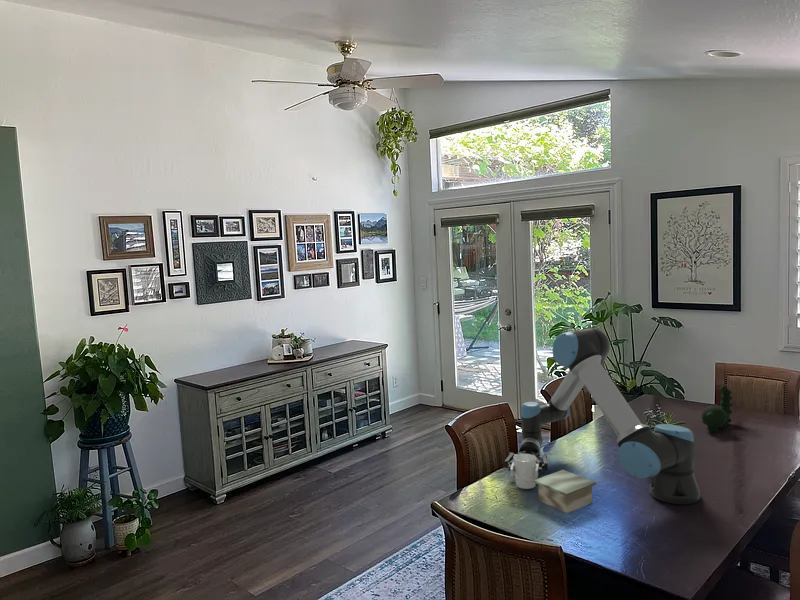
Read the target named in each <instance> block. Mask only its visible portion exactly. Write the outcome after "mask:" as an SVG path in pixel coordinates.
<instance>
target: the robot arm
mask: <svg viewBox="0 0 800 600" xmlns="http://www.w3.org/2000/svg"><path fill="white" fill-rule="evenodd" d="M610 349H611V344H610V340H609V337H608V336H607V334H606V333H605V332H604V331H602V330H600V329H597V328H596V327H595V328H594V327H587V328H584V329H578V330H571V331H570V330H569V331H566V332H563V333H560V334H558V335H557V336H555V339H554V340H553V343H552V356H553V358H554V361H555V362H556V363H557V364H558V365H559V366H561V367H563V368H568V371H567V373H566V375H565V376H564V378H563V380H562V381H561V382H560V384H559V386H558V387H557V389H555V390H556V391H555V392H554V394H553V395H552V397H551V398H550V399H549V401H548V402H547V403H545V404H540V403H539V402H536V401H525V402H524V403H522V404H521V407H520V419H521V420H520V421H521V444H520V446H519V449H518V452H517V453H516V454H515V453H513V452H512V451H511V452H509V455H507V457H506V459H505V460H504V468H505V469H508V472H510V473H509V474H510V477H511V478H513V477H514V476H515V471H514V459H513V457H514V456H515V455H517V454H531V455H534V456H536V468H535V478H536V479H538V478H539V474H542V473H543V470H544V471H549V470H548V469H549V468H548V467H549V466H548V454H547V453H544V454H540V453H541V449H542V445H543V436H542V426H543V425H547V424H550V423H553V422H554V423H555V422H559V421H563V420H564V419H567V418H568V417H569V416H570V413H571V412H570V411H571V408H570V406H571V405H572V403H573V402H574V400H575V399H576V398H577V396H578V394H579V393H580V391H581V390H582V389H583V388H584V387H585V388H586V389H587V391H588V392H589V394H590V396H591V397H592V399H593V400H594V401H595V404H596V405H597V406H598V408H599V409H600V411H601V413H602V414H603V417H604V418H605V419H606V421H607V422H608V424H609V425H610V426H611V429H612V430H613V432H614V433H615V434H616V437H617V441H616V444H617V446H618V450H617V452H618V453H617V455H619V456H618V461H619V463H620V465H621V467H622V468H623V469H624V470H625V471H626V473H628V474H629V475H631V476H633V477H636V478H638V479H646V478H650V477H652V478H651V480H650V483H649V493H650V495H651V497H653V498H654V499H656V500H658V501H661V502H663V503H668V504H673V505H691V504H695V503H697V502H699V501H700V499H701V490H700V488H699V485H698V482H697V478H696V477H695V472H694V471H695V470H694V469H695V465H694V464H695V463H694V462H695V461H694V459H695V451H694V450H695V449H694V448H695V447H694V444H695V440H694V433H693V431H692V430H691V429H689V428H687V427H685V426H681V425H675V424H669V423H667V424H666V423H659V424H656V425H655V426H654V429H652V428H651V427H650V426H649V425H647V424H644V423H642V422H641V420H640V419H639V417H638V416H637V414H636V413H635V411H633V409H632V408H631V406H630V405H629V403H628V401H627V400H626V398H625V397H624V396H623V394H622V393H621V391H620V390H619V388H618V387H617V386H616V384H615V382H614V381H613V379H612V378H611V376H610V375H609V374H608V372H607V370H606V369H605V367H604V366H603V364H604V362H605V360H606V359H607V357H608V356H609V353H610Z"/></svg>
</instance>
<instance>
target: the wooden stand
mask: <svg viewBox="0 0 800 600" xmlns="http://www.w3.org/2000/svg"><path fill="white" fill-rule="evenodd" d="M534 483H536V485H538V486H537V487H538V501H539V502H541V503H543V504H546V505H548V506H550V507H552V508H555V509H557V510H558V511H561V512H563V513H565V514H569V513H572V512H573V511H576V510H578V509H581V508H583V507H586V506H588V505H590V504H592V503H593V486H596V485H597V481H594V480H591V479H589V478H586V477H584V476H581V475H579V474H576V473H574V472H570V471H567V470H565V469H560V470H559V471H555V472H553V473H550V474H547V475H544V476H540V477H538V478H536V480H534Z"/></svg>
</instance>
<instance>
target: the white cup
mask: <svg viewBox="0 0 800 600" xmlns="http://www.w3.org/2000/svg"><path fill="white" fill-rule="evenodd" d="M516 454H517V453H516ZM513 459H514V478H515V485H516V487H517V488H520V489H524V490H525V489H526V490H529V489H530V490H531V489H533V488H535V487H536V485H537V484H536V483H534V480H536V479H537V478H535V468H536V456H534V455H531V454H517V455H515V456H514V457H513Z"/></svg>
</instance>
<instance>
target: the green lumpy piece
mask: <svg viewBox="0 0 800 600" xmlns="http://www.w3.org/2000/svg"><path fill="white" fill-rule="evenodd" d="M720 393H721V395H720V402H719V406H717V405H708V406H707V407H705V408H704V409H703V410H702V412H701V419H702V424H704V425H706V429H707V431H708V432H710V433H714V432H715V433H718V431H719V428H721V429H724V430H725V429H727V428H729V427H730V425H731V424H730V423H732V419H731V417H730V416H731V414H732V409H731V407H732V406H733V403H732V402H731V400H733V397H732V396H731V394H733V392H732V390H730V389H729V387H728V386H727V385H725V384H723V385H721V386H720Z"/></svg>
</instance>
